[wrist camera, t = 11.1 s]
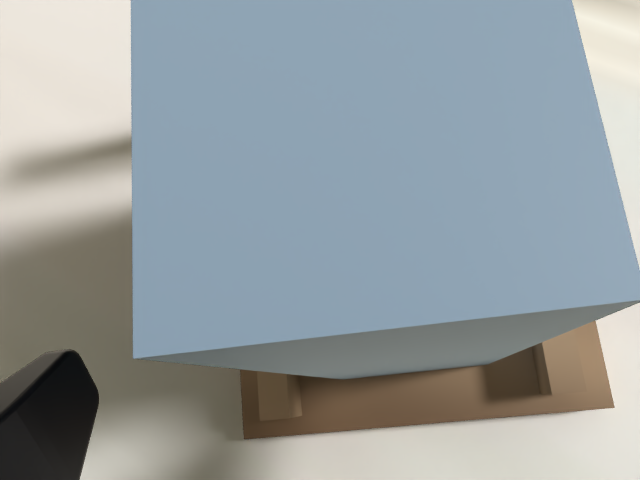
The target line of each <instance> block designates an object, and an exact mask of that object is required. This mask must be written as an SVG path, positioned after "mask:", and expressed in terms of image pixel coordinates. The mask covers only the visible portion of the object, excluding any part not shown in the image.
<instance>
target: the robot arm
mask: <svg viewBox="0 0 640 480" xmlns="http://www.w3.org/2000/svg"><path fill="white" fill-rule="evenodd" d="M98 404H99V394H98V390H97V387H96V385H95V383H94V381H93V379H92V378H91V376H90V374H89V372H88V370H87V368H86V366H85V364H84V362H83V360H82V359H81V357H80V355H79V354H78V353H77V352H76V351H74V350H71V349H67V350H59V351H51V352H47V353H44V354H43V355H41V356H40V357H38V358H37V359H35V360H34V361H32V362H31V363H29V364H28V365H26V366H25V367H23V368H22V369H20V370H19V371H18V372H16V373H15V374H13V375H12V376H10V377H9V378H7V379H6V380H4V381H3V382H1V383H0V480H80V476H81V472H82V468H83V464H84V460H85V456H86V452H87V448H88V444H89V440H90V437H91V433H92V429H93V425H94V421H95V417H96V413H97V409H98Z"/></svg>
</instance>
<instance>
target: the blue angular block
mask: <svg viewBox="0 0 640 480" xmlns="http://www.w3.org/2000/svg"><path fill="white" fill-rule="evenodd" d="M131 105H132V273H133V359H142V360H152V361H162V362H172V363H182V364H192V365H202V366H212V367H222V368H232V369H242V370H252V371H262V372H272V373H283V374H293V375H303V376H313V377H323V378H333V379H353V378H362V377H372V376H382V375H392V374H401V373H411V372H421V371H430V370H440V369H450V368H460V367H469V366H479V365H488V364H490V363H492V362H495V361H497V360H500V359H502V358H505V357H507V356H510V355H512V354H514V353H517V352H519V351H522V350H524V349H527V348H529V347H532V346H534V345H536V344H539V343H541V342H544V341H546V340H549V339H551V338H554V337H556V336H558V335H561V334H563V333H566V332H568V331H571V330H573V329H576V328H578V327H580V326H583V325H585V324H588V323H590V322H593V321H595V320H598V319H600V318H603V317H605V316H607V315H610V314H612V313H615V312H617V311H620V310H622V309H625V308H627V307H629V306H632V305H634V304H637V303H639V302H640V270H639V266H638V262H637V258H636V254H635V250H634V246H633V242H632V238H631V234H630V230H629V226H628V222H627V218H626V214H625V210H624V206H623V202H622V198H621V194H620V190H619V186H618V182H617V178H616V174H615V170H614V166H613V162H612V159H611V155H610V151H609V147H608V143H607V139H606V135H605V131H604V127H603V123H602V119H601V115H600V111H599V107H598V103H597V99H596V95H595V91H594V87H593V83H592V79H591V75H590V71H589V67H588V63H587V59H586V55H585V51H584V47H583V43H582V39H581V35H580V31H579V28H578V24H577V20H576V16H575V12H574V8H573V4H572V0H131Z"/></svg>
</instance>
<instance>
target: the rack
mask: <svg viewBox="0 0 640 480" xmlns="http://www.w3.org/2000/svg"><path fill="white" fill-rule="evenodd" d="M240 375H241V394H242V413H243V432H244V439H254V438H266V437H277V436H289V435H301V434H312V433H324V432H336V431H348V430H359V429H371V428H383V427H394V426H406V425H418V424H429V423H441V422H453V421H465V420H476V419H488V418H500V417H511V416H523V415H535V414H547V413H558V412H570V411H582V410H593V409H605V408H615V407H614V403H613V398H612V394H611V389H610V385H609V380H608V376H607V371H606V367H605V362H604V358H603V353H602V349H601V344H600V339H599V335H598V330H597V326H596V321H593V322H590V323H588V324H585V325H583V326H580V327H578V328H576V329H573V330H571V331H568V332H566V333H563V334H561V335H558V336H556V337H554V338H551V339H549V340H546V341H544V342H541V343H539V344H536V345H534V346H532V347H529V348H527V349H524V350H522V351H519V352H517V353H514V354H512V355H510V356H507V357H505V358H502V359H500V360H497V361H495V362H492V363H490V364H488V365H479V366H469V367H460V368H450V369H440V370H430V371H421V372H411V373H401V374H392V375H382V376H372V377H362V378H353V379H333V378H323V377H313V376H303V375H293V374H283V373H272V372H262V371H252V370H242V369H240Z"/></svg>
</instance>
